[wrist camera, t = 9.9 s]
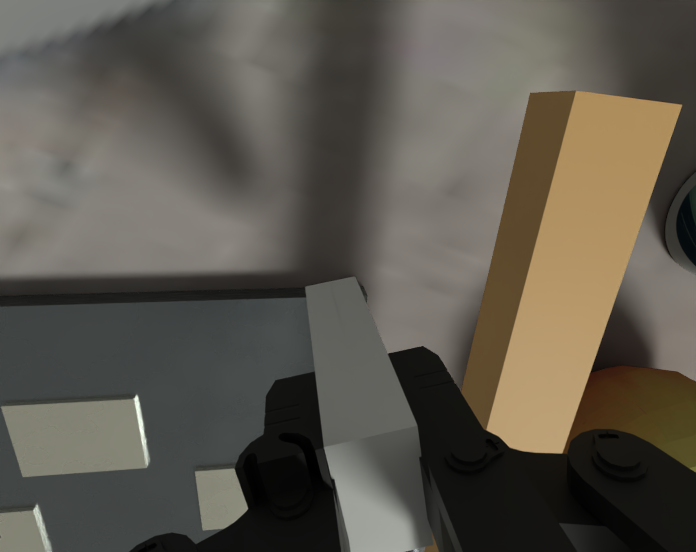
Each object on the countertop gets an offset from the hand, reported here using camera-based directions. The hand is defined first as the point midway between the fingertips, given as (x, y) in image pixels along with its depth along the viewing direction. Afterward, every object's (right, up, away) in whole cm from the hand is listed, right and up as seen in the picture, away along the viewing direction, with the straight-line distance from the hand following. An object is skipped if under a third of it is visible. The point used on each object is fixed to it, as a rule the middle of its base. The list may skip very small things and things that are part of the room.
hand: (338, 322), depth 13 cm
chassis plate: (-9, -6, +7) cm, 13 cm away
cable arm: (+4, -5, +2) cm, 7 cm away
